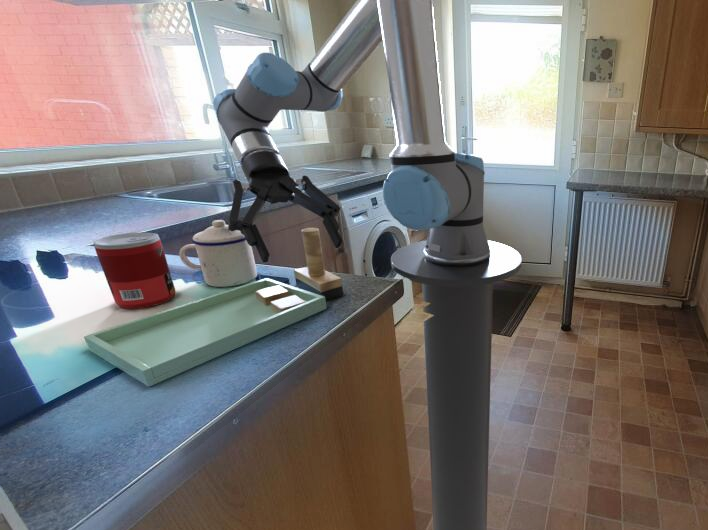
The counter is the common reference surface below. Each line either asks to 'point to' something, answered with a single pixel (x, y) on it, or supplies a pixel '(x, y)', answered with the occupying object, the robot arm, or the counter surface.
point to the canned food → (135, 269)
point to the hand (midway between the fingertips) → (305, 251)
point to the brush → (316, 269)
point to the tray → (197, 331)
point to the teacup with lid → (222, 256)
